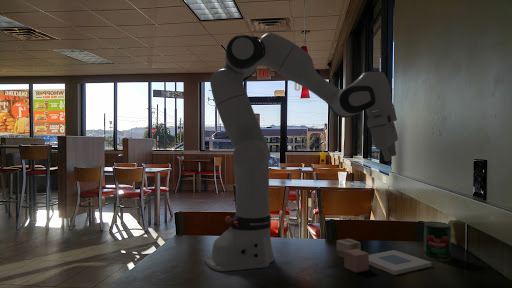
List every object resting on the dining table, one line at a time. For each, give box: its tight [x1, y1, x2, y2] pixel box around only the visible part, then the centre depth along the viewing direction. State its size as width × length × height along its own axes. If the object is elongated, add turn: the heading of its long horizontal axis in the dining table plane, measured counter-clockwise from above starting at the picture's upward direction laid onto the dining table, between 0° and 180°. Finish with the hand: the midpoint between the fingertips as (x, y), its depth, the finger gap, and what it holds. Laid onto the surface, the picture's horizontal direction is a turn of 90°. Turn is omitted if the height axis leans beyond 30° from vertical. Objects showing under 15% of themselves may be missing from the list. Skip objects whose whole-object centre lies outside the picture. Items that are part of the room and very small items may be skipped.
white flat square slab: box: [369, 249, 433, 276], centre depth 107 cm, size 16×14×1 cm
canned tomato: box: [423, 220, 452, 262], centre depth 113 cm, size 8×8×11 cm
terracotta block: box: [343, 249, 370, 273], centre depth 102 cm, size 5×5×5 cm
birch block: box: [336, 238, 362, 259], centre depth 114 cm, size 6×6×5 cm
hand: (390, 158), depth 115 cm, fingers open, 8 cm apart
